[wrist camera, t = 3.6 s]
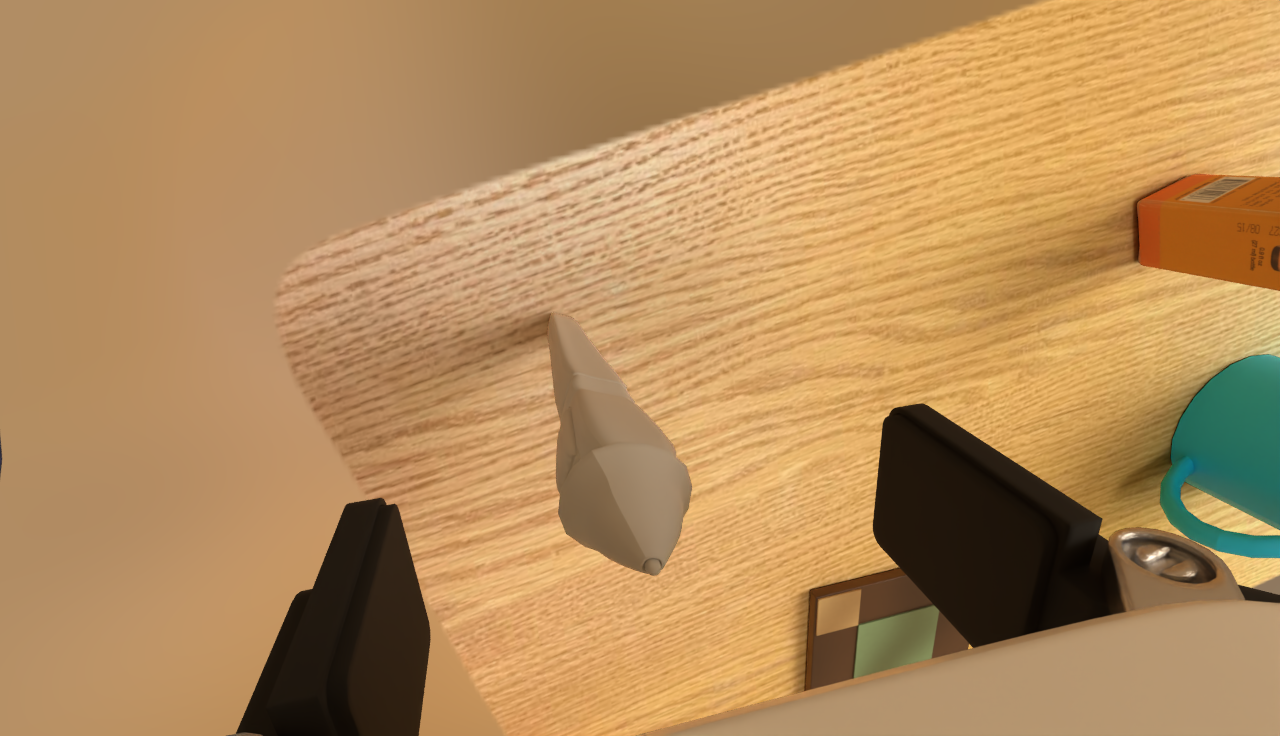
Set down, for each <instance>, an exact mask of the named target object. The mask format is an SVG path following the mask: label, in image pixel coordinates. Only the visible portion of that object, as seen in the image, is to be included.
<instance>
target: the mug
mask: <svg viewBox="0 0 1280 736" xmlns="http://www.w3.org/2000/svg"><path fill="white" fill-rule="evenodd" d="M1171 461H1172V466H1171V467H1170V469H1169V471H1168V472H1167V474H1166V475H1165V477H1164V479H1163V480H1162V482H1161V492H1160V505H1161V507H1162V509H1163V510H1164V512H1165V514H1166V516H1167V518H1168V520H1169V522H1170V523H1171V524H1172V525H1173V526H1174V527H1176V528H1177V529H1178V530H1179V531H1180V532H1182V533H1183V534H1184V535H1185V536H1187V537H1188V538H1189V539H1191V540H1193V541H1195V542H1198V543H1200V544H1203V545H1205V546H1207V547H1210V548H1212V549H1214V550H1217V551H1220V552H1225V553H1230V554H1235V555H1240V556H1246V557H1251V558H1280V535H1274V536H1253V535H1247V534H1242V533H1236V532H1230V531H1224V530H1222V529H1219V528H1217V527H1214V526H1212V525H1209V524H1207V523H1204V522H1202V521H1200V520H1199V519H1198V518H1197V517H1195V516H1194V515H1193V514H1191V513H1190V512H1189V511H1187V509H1186V508H1185V506H1184V504H1183V502H1182V501H1181V499H1180V498H1181V487H1182V485H1183V483H1184V482H1186V483H1188V484H1190V485H1192V486H1194V487H1196V488H1198V489H1200V490H1202V491H1204V492H1206V493H1208V494H1210V495H1212V496H1214V497H1215V498H1217V499H1219V500H1221V501H1223V502H1225V503H1227V504H1229V505H1231V506H1233V507H1235V508H1237V509H1239V510H1241V511H1243V512H1245V513H1247V514H1249V515H1251V516H1253V517H1255V518H1257V519H1259V520H1261V521H1263V522H1265V523H1267V524H1269V525H1271V526H1273V527H1275V528H1277V529H1279V530H1280V358H1279V357H1276V356H1273V355H1269V354H1268V355H1257V356H1250V357H1248V358H1245V359H1243V360H1241V361H1238V362H1236V363H1234V364H1231V365H1230V366H1229V367H1227V368H1226V369H1225V370H1223V371H1222V372H1220V373H1219V374H1218V375H1216V376H1215V377H1214V378H1212V379H1211V380H1210V381H1209V382H1208V383H1207V384H1206V386H1205V387H1204V388H1203V389H1202V390H1201V391H1200V392H1199V393H1198V394H1197V395H1196V396H1195V397H1194V399H1193V400H1192V402H1191V403H1190V405H1189V406H1188V408H1187V409H1186V411H1185V413H1184V414H1183V416H1182V417H1181V419H1180V422H1179V424H1178V427H1177V429H1176V432H1175V434H1174V437H1173V440H1172V449H1171Z"/></svg>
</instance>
